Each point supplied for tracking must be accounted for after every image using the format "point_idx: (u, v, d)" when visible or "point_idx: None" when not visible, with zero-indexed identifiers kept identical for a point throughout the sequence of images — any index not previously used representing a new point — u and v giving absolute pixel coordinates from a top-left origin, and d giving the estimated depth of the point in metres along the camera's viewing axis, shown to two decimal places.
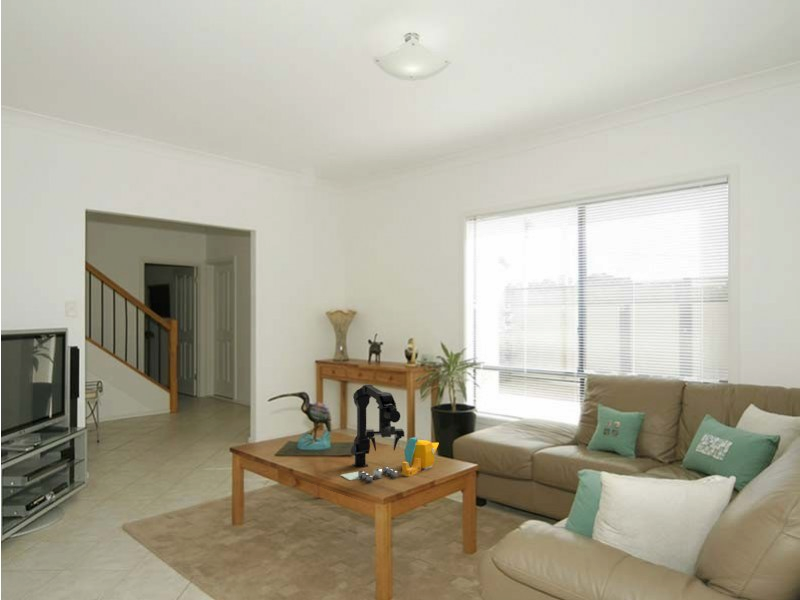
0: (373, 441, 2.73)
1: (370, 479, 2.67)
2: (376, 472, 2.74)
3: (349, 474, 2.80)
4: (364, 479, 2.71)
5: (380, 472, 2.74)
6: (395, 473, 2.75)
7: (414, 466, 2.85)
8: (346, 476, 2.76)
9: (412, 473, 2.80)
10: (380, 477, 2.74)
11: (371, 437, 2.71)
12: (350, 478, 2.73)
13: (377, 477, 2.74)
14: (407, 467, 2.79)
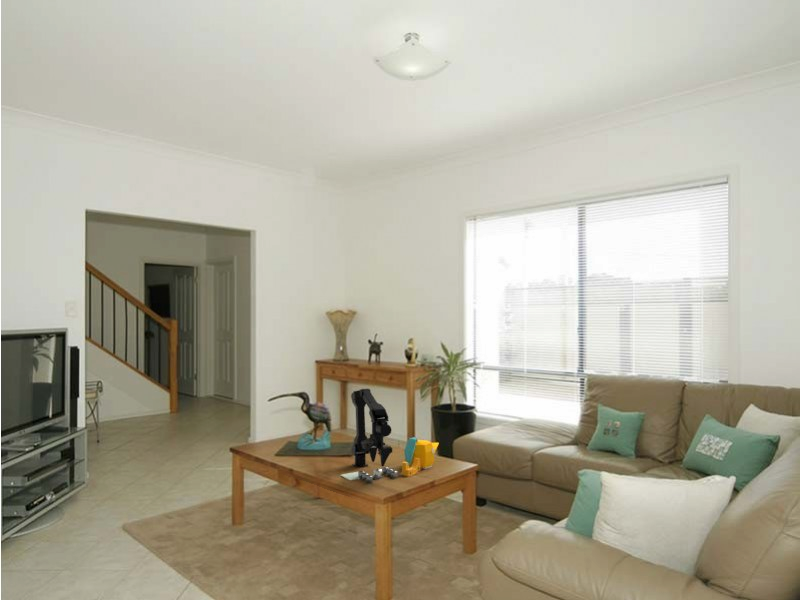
0: (369, 451, 2.80)
1: (370, 479, 2.67)
2: (376, 472, 2.74)
3: (349, 474, 2.80)
4: (364, 479, 2.71)
5: (380, 472, 2.74)
6: (395, 473, 2.75)
7: (414, 466, 2.85)
8: (346, 476, 2.76)
9: (412, 473, 2.80)
10: (380, 477, 2.74)
11: None
12: (350, 478, 2.73)
13: (377, 477, 2.74)
14: (407, 467, 2.79)
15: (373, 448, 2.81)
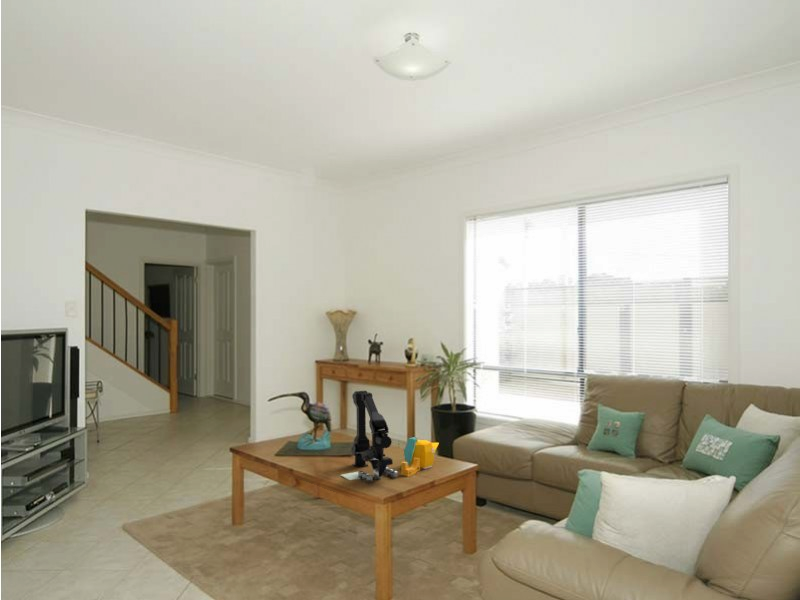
0: (371, 464, 2.78)
1: (370, 479, 2.67)
2: (376, 472, 2.74)
3: (349, 474, 2.80)
4: (364, 479, 2.71)
5: None
6: (395, 473, 2.75)
7: (413, 466, 2.86)
8: (346, 476, 2.76)
9: (411, 473, 2.80)
10: (380, 477, 2.74)
11: None
12: (350, 478, 2.73)
13: (377, 477, 2.74)
14: (406, 467, 2.80)
15: (375, 460, 2.79)
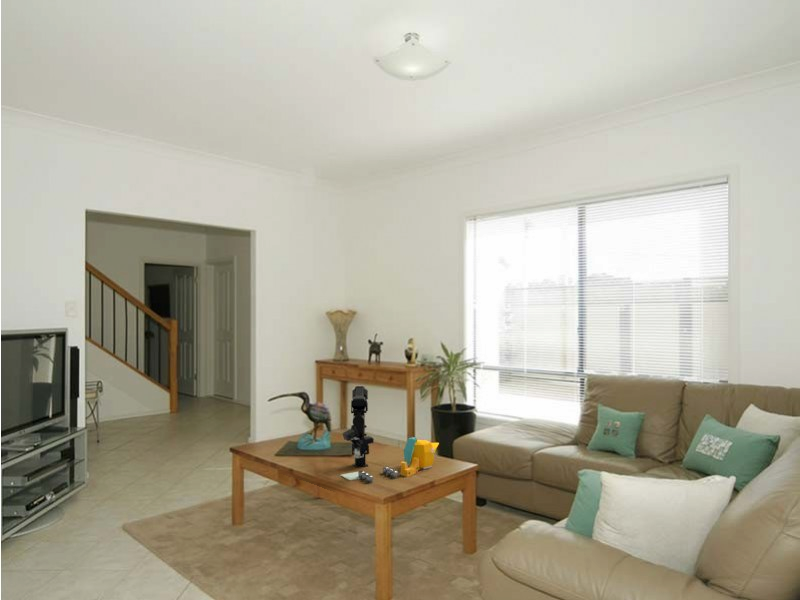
0: (352, 443, 2.80)
1: (370, 479, 2.67)
2: (357, 451, 2.75)
3: (349, 474, 2.80)
4: (364, 479, 2.71)
5: None
6: (395, 473, 2.75)
7: (412, 466, 2.86)
8: (346, 476, 2.76)
9: (410, 473, 2.80)
10: (361, 456, 2.76)
11: None
12: (350, 478, 2.73)
13: (358, 456, 2.75)
14: (406, 467, 2.80)
15: (357, 440, 2.80)
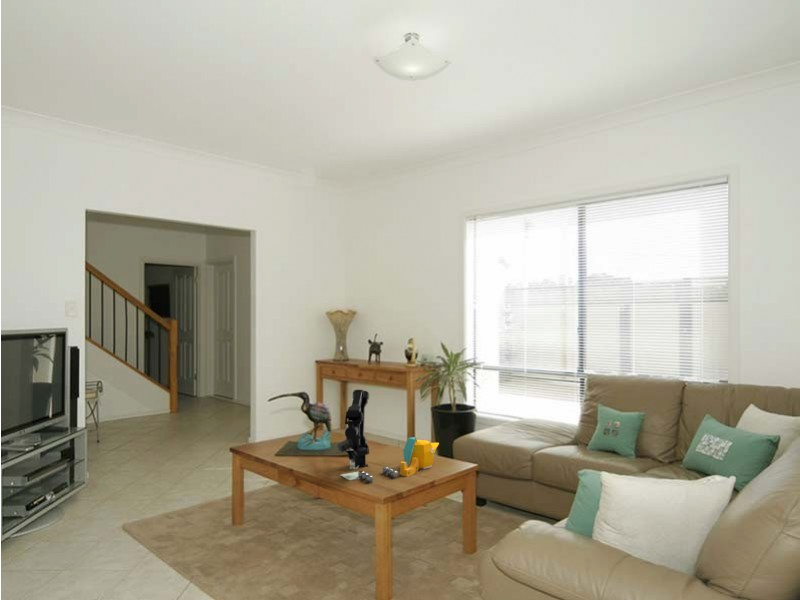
0: (348, 454, 2.80)
1: (370, 479, 2.67)
2: (352, 462, 2.76)
3: (349, 474, 2.80)
4: (364, 479, 2.71)
5: None
6: (395, 473, 2.75)
7: (412, 466, 2.86)
8: (346, 476, 2.76)
9: (410, 473, 2.80)
10: (356, 467, 2.76)
11: None
12: (350, 478, 2.73)
13: (353, 467, 2.76)
14: (405, 467, 2.80)
15: (352, 451, 2.81)
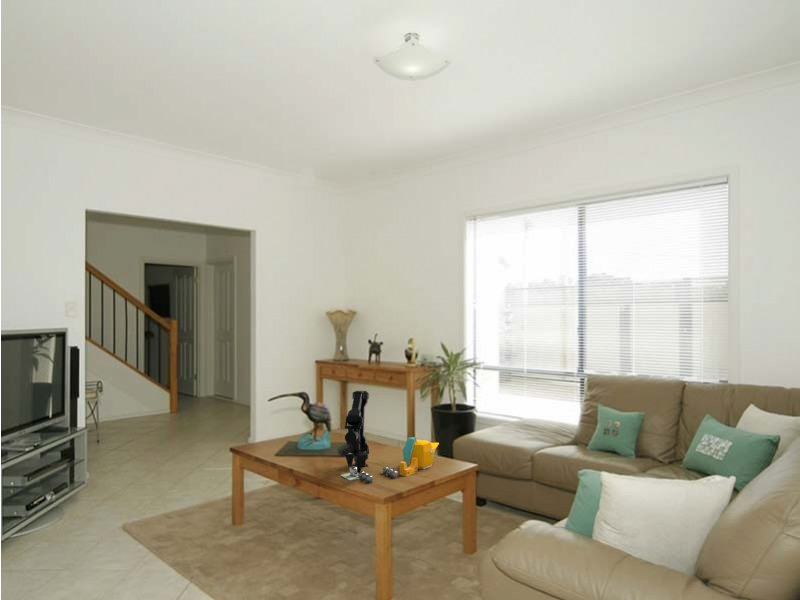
0: (346, 458, 2.82)
1: (370, 479, 2.67)
2: (352, 470, 2.76)
3: (349, 474, 2.80)
4: (364, 479, 2.71)
5: (356, 470, 2.76)
6: (395, 473, 2.75)
7: (411, 466, 2.86)
8: (346, 476, 2.76)
9: (410, 473, 2.80)
10: (356, 475, 2.76)
11: None
12: (350, 478, 2.73)
13: (353, 475, 2.76)
14: (405, 467, 2.80)
15: (350, 454, 2.83)
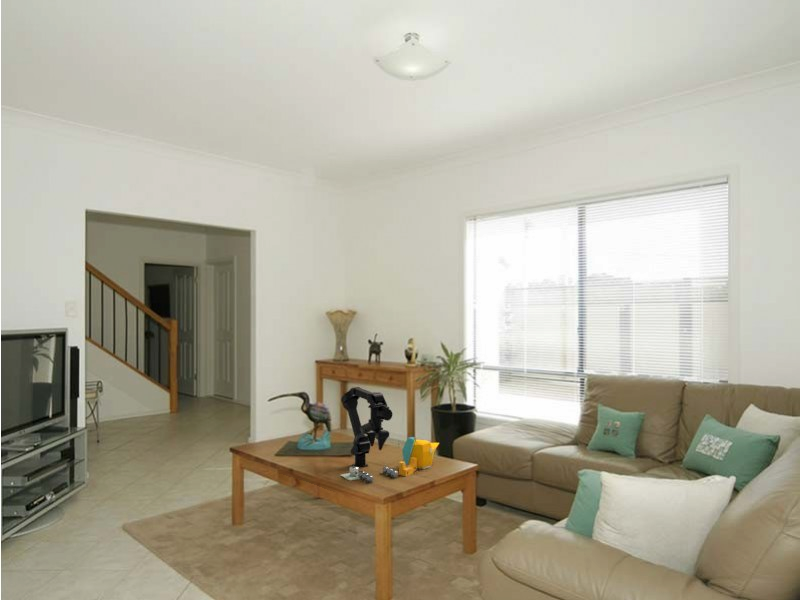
0: (368, 436, 2.91)
1: (370, 479, 2.67)
2: (352, 470, 2.76)
3: (349, 474, 2.80)
4: (364, 479, 2.71)
5: (356, 470, 2.76)
6: (395, 473, 2.75)
7: (410, 466, 2.86)
8: (346, 476, 2.76)
9: (409, 473, 2.80)
10: (356, 475, 2.76)
11: None
12: (350, 478, 2.73)
13: (353, 475, 2.76)
14: (404, 467, 2.80)
15: (372, 433, 2.91)
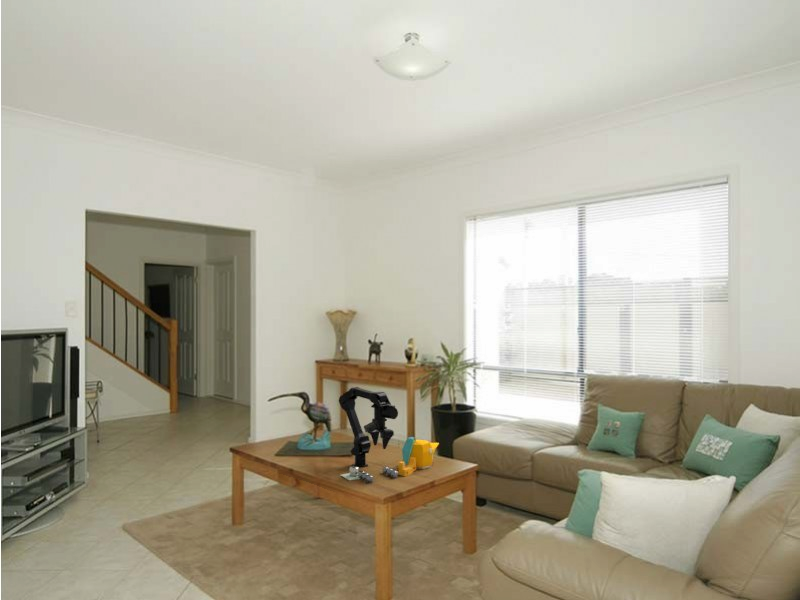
0: (371, 435, 2.92)
1: (370, 479, 2.67)
2: (352, 470, 2.76)
3: (349, 474, 2.80)
4: (364, 479, 2.71)
5: (356, 470, 2.76)
6: (395, 473, 2.75)
7: (410, 466, 2.86)
8: (346, 476, 2.76)
9: (408, 473, 2.80)
10: (356, 475, 2.76)
11: None
12: (350, 478, 2.73)
13: (353, 475, 2.76)
14: (403, 467, 2.80)
15: (375, 432, 2.93)
